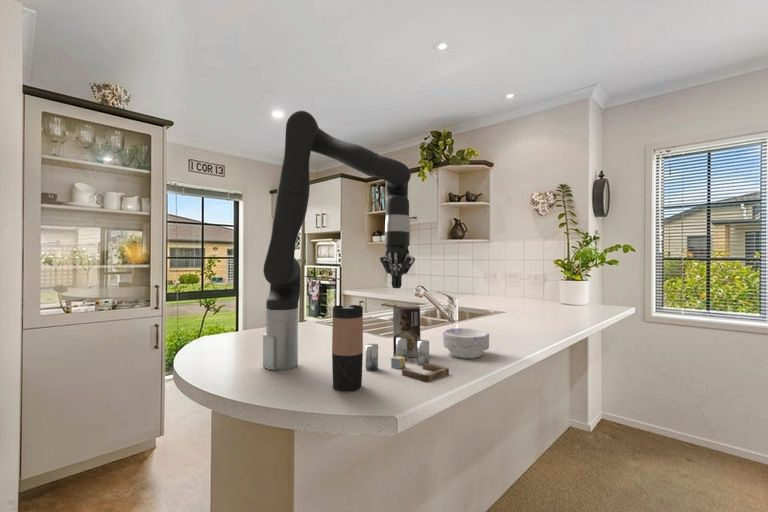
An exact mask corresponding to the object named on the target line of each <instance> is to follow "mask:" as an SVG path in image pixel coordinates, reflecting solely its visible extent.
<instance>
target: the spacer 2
mask: <svg viewBox="0 0 768 512" xmlns="http://www.w3.org/2000/svg"><path fill="white" fill-rule="evenodd" d="M396 356H400V357H405V362H406V361H408V357H407V337H396Z"/></svg>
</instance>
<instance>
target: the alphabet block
mask: <svg viewBox="0 0 768 512" xmlns="http://www.w3.org/2000/svg"><path fill="white" fill-rule="evenodd" d="M390 367H391V369H396V370H400V369H405V368H406V361H405V357H400V356H396V357H393V356H392V357H391V359H390Z"/></svg>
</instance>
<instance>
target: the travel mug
mask: <svg viewBox="0 0 768 512" xmlns="http://www.w3.org/2000/svg"><path fill="white" fill-rule="evenodd" d="M363 309H364V307H363V306H362V305H359V304H358V305H357V304H351V305H349V306H346V307H344V306H342V305H333V307H332V327H331V328H332V329H331V330H332V332H331V333H332V335H331V338H332V339H331V341H332V342H331V358H332V359H331V363H332V365H331V366H332V367H331V370H332V388H333V389H334V390H335V391H337V392H345V393H349V392H357V391H358V390H361V389H362V386H363V385H362V382H363V359H364V358H363V357H364V333H363V332H364V331H363V330H364V325H363V323H364V319H363V318H364V317H363V315H364V312H363V311H364V310H363Z"/></svg>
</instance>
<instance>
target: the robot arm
mask: <svg viewBox="0 0 768 512" xmlns="http://www.w3.org/2000/svg"><path fill="white" fill-rule="evenodd" d="M284 136H285V139H284V155H283V159H282V161H283V162H282V166H281V170H280V174H279V179H278V181H279V182H278V186H277V191H276V192H277V193H276V196H275V197H276V199H275V204H274V213H273V214H274V215H273V219H272V227H271V236H270V241H269V244H268V249H267V253H266V256H265V259H264V264H263V269H262V270H263V276H264V278H265V280H266V281H267V283H269V285H270V286H269V289H270V290H269V294H268V297H267V299H266V302H265V303H266V304H265V306H266V309H265V313H266V314H265V315H266V316H265V334H263V335H262V367H263V366H264V367H263V368H265V367H267V368H269V369H268V370H270V369H271V370H270V371H272V370H275V371H283V370H282V369H286V370H290V368H291V369H294V368H296V367H298V364H299V301H300V296H301V276H302V275H301V273H302V272H301V265H300V262H299V261H298V260H297V259H296V257H295V255H296V254H295V253H296V252H295V251H296V250H295V249H296V244H297V238H298V235H299V232H300V231H301V228H302V226H303V223H304V221H305V218H306V216H307V215H306V214H307V211H308V204H309V199H310V198H309V197H310V181H311V180H310V158H311V154H312V152H313V153H317V154H319V155H323V156H326V157H328V158H331V159H333V160H335V161H338V162H340V163H342V164H343V165H346V166H348V167H350V168H352V169H354V170H356V171H357V172H360V173H362V174H365V175H366V176H369V177H372V178H374V177H376V178H379V179H381V180H382V181H385V186H386V187H385V188H386V190H385V191H386V204H385V222H384V246H385V247H386V249H385V253H384V254H385V255H383V256H381V257H380V258H379V260H380V263H381V265H382V266H383V268H384V270H385V272H386V273H387V274H389V275H391V287H392V289H400V288H402V283H403V282H402V280H403V279H402V278H403V275H407V274H408V273H409V271H410V269H411V267H412V266H413V264H414V262H415V261H416V257H413V256H412V255H410V251H409V247H410V244H411V243H410V242H411V241H410V239H411V238H410V236H411V230H410V229H411V225H410V224H411V223H410V222H411V221H410V200H409V198H408V197H409V182H410V180H411V176H412V175H411V170H410V168H409V167H408V166H407V165H406V164H404V163H403V162H401V161H399V160H396V159H393V158H390V157H387V156H383V155H381V154H378V153H377V152H375V151H373V150H370V149H368V148H367V147H364V146H361V145H359V144H356V143H354V142H349V141H345V140H342V139H340V138H336V137H334V136H332V135H331V134H329V133H327V132H325V130H323V129H321V128H319V124H318V122H317V120H316V119H315V117H314V116H313V115H312V114H311V113H310V112H309V111H307V110H303V109H302V110H301V109H300V110H296V111H294V112H293V113H291V115H290V116H289V117H288V118H287V121H286V124H285V135H284ZM267 368H266V369H267ZM279 369H280V370H279Z"/></svg>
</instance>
